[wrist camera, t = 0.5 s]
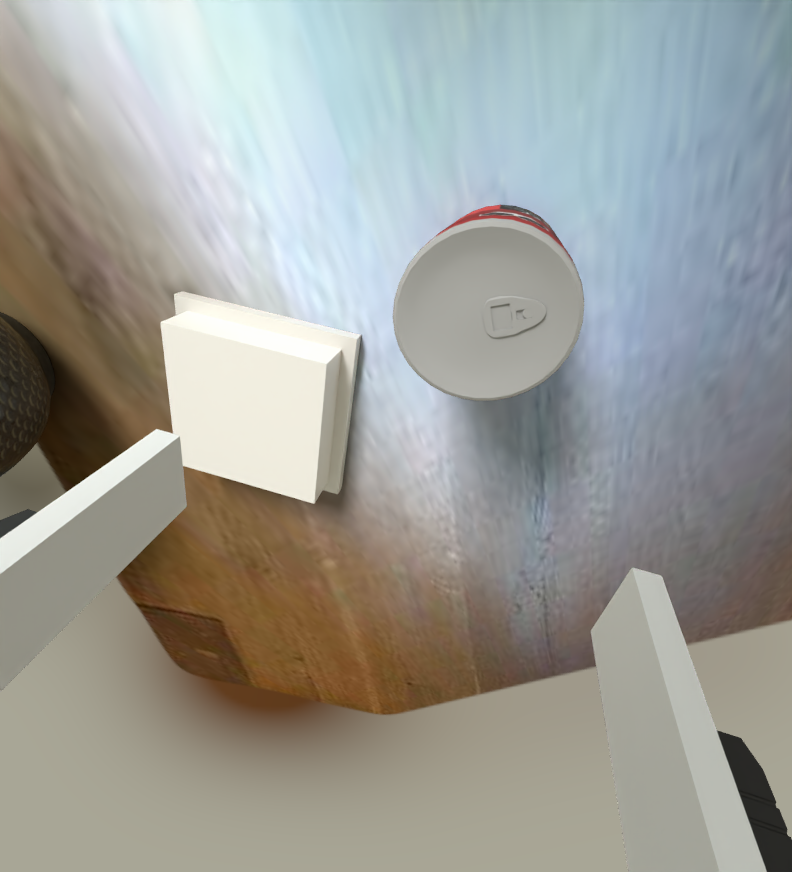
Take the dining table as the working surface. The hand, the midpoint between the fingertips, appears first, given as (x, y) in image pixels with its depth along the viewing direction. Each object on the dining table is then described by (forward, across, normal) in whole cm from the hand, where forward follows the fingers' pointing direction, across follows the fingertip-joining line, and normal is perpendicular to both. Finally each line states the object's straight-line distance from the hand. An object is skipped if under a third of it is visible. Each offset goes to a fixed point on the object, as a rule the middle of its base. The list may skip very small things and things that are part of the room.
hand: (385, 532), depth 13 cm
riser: (+20, -14, -9) cm, 26 cm away
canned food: (+21, +1, +4) cm, 21 cm away
